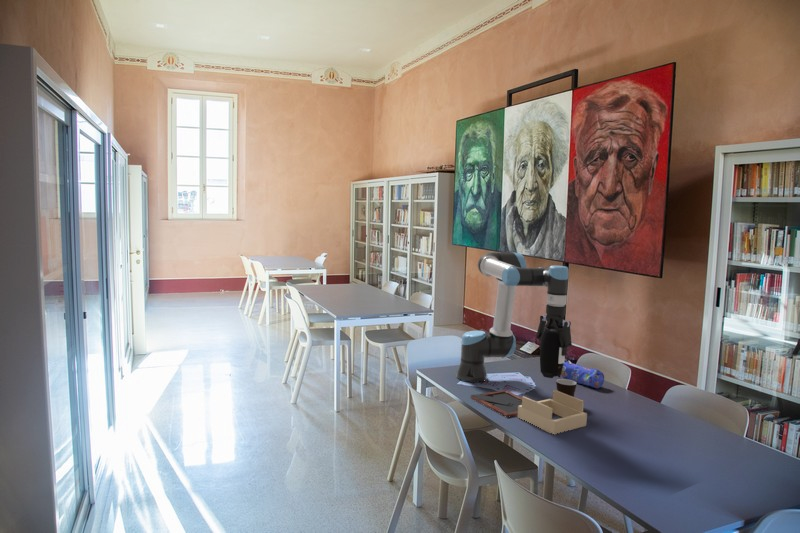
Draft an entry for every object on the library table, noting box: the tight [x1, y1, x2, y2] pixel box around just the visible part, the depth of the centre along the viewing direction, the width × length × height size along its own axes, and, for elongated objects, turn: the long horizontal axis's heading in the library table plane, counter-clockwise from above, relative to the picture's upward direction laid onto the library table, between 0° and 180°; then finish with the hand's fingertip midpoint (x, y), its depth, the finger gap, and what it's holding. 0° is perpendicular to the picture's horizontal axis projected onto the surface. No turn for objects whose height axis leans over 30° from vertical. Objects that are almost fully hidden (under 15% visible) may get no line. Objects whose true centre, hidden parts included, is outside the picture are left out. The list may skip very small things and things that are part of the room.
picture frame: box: [470, 389, 522, 418], centre depth 237 cm, size 20×2×25 cm
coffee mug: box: [555, 378, 578, 397], centre depth 241 cm, size 12×9×10 cm
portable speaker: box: [539, 327, 565, 379], centre depth 217 cm, size 9×9×20 cm
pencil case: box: [561, 360, 605, 389], centre depth 271 cm, size 22×9×10 cm, turn 36°
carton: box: [516, 389, 588, 435], centre depth 218 cm, size 19×19×10 cm
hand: (551, 360), depth 218 cm, fingers closed on portable speaker, 9 cm apart
